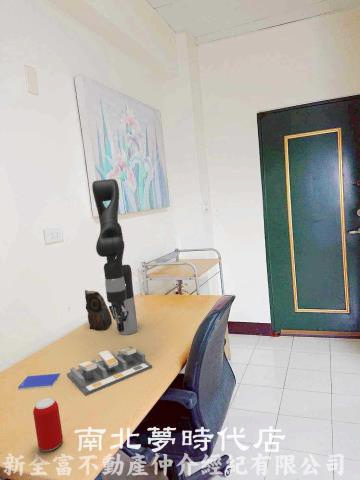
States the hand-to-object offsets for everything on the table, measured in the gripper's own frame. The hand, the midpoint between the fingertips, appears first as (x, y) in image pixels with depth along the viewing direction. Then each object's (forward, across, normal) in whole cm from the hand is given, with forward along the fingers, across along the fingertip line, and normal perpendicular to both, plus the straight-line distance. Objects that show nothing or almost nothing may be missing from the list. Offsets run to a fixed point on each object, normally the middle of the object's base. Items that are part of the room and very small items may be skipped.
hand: (121, 331), depth 136 cm
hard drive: (+13, -9, -30) cm, 34 cm away
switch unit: (+12, +4, -8) cm, 15 cm away
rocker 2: (+8, +4, 0) cm, 9 cm away
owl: (+14, -47, +11) cm, 50 cm away
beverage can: (+12, +30, -37) cm, 49 cm away
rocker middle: (+8, +4, -8) cm, 12 cm away
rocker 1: (+8, +4, -16) cm, 18 cm away
